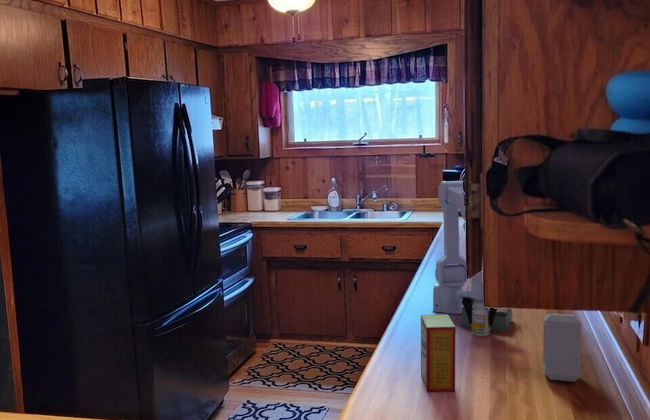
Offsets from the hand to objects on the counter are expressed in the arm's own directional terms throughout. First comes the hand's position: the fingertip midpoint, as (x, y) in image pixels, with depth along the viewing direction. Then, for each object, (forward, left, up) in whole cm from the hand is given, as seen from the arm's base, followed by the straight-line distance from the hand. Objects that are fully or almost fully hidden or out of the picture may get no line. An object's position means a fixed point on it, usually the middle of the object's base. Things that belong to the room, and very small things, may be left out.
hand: (480, 323), depth 174 cm
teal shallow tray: (0, +10, -3) cm, 10 cm away
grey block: (+22, -14, -3) cm, 27 cm away
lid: (0, +10, +2) cm, 10 cm away
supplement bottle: (0, 0, -3) cm, 3 cm away
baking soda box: (-2, -39, -3) cm, 39 cm away
